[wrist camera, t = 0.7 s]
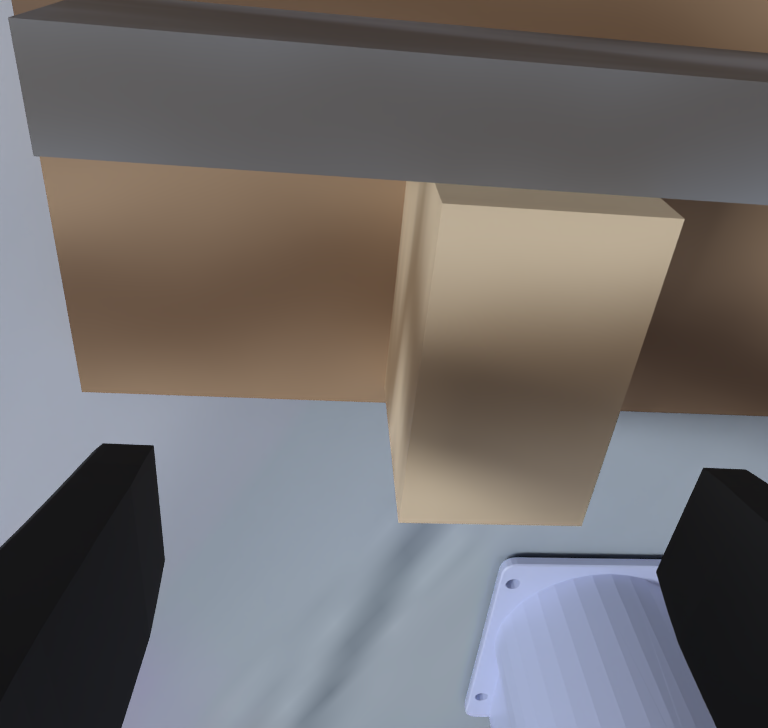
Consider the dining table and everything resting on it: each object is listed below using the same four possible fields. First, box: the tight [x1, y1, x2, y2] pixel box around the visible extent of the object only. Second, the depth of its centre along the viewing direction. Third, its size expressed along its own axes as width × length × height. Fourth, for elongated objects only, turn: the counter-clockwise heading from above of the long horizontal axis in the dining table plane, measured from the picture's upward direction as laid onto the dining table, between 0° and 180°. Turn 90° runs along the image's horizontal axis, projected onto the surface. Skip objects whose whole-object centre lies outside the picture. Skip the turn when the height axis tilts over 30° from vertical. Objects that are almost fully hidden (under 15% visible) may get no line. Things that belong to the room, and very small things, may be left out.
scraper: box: [8, 0, 768, 526], centre depth 14 cm, size 9×17×5 cm, turn 85°
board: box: [12, 0, 768, 416], centre depth 15 cm, size 18×20×2 cm
